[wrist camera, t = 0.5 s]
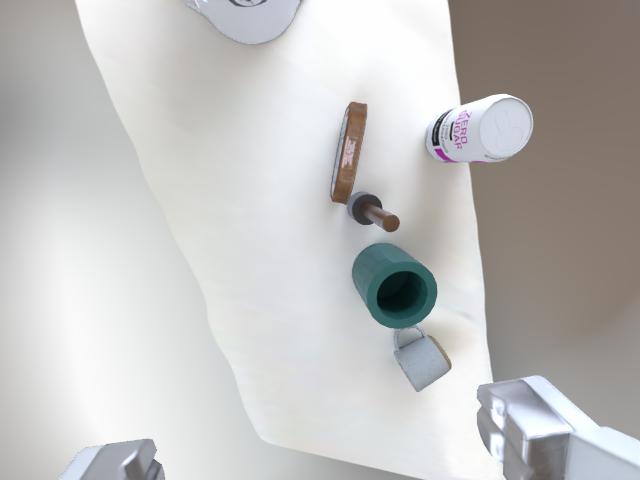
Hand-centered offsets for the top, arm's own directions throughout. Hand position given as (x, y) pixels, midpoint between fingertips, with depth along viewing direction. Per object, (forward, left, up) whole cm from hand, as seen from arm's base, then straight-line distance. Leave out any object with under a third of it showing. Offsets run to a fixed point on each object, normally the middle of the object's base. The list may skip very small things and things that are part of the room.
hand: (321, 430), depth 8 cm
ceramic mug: (+32, +18, -47) cm, 60 cm away
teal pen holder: (+15, +14, -47) cm, 51 cm away
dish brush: (+3, +12, -47) cm, 49 cm away
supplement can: (-6, +28, -47) cm, 55 cm away
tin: (-6, +10, -47) cm, 49 cm away
